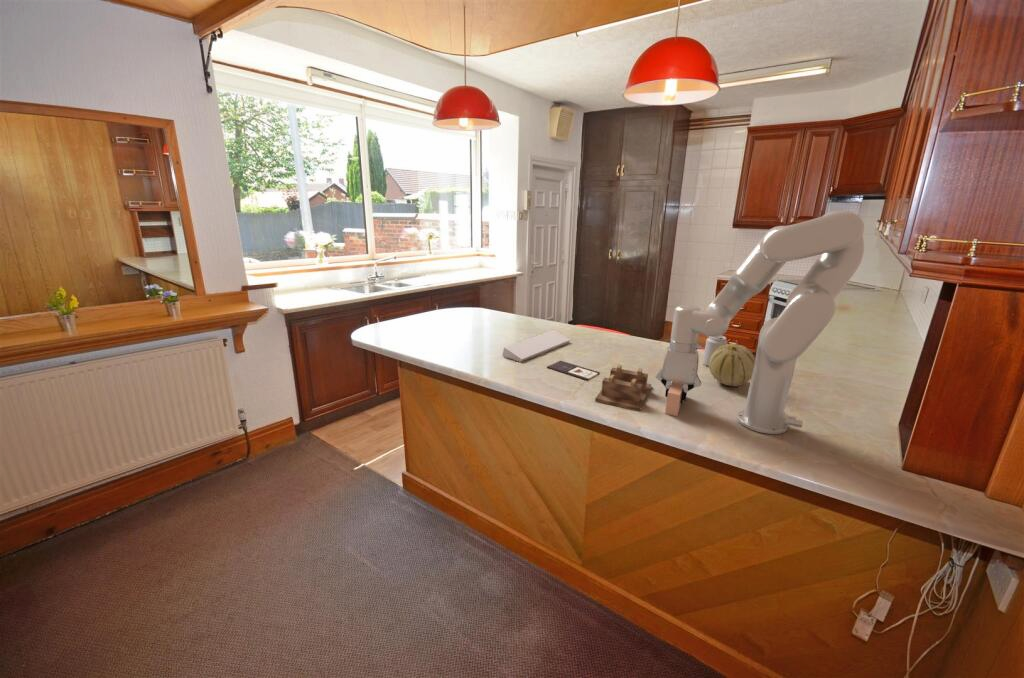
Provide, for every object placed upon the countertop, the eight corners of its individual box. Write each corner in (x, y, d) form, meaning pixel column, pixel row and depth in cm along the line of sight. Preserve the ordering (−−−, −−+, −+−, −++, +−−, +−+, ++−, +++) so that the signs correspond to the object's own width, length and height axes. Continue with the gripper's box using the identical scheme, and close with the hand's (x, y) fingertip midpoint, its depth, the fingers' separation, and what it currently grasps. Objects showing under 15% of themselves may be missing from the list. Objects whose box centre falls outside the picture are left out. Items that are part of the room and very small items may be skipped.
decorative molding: (567, 348, 192) (551, 338, 197) (570, 339, 189) (553, 329, 194) (519, 369, 167) (501, 357, 173) (521, 359, 165) (504, 347, 170)
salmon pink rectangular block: (683, 395, 138) (686, 376, 136) (677, 416, 125) (680, 394, 122) (672, 393, 140) (674, 374, 137) (665, 413, 126) (667, 392, 124)
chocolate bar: (560, 360, 167) (599, 372, 155) (560, 362, 167) (599, 374, 156) (546, 366, 160) (586, 379, 149) (546, 368, 161) (586, 381, 149)
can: (718, 370, 159) (723, 340, 156) (699, 364, 165) (703, 336, 161) (726, 365, 164) (731, 336, 160) (707, 360, 169) (712, 332, 166)
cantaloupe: (747, 378, 152) (755, 339, 147) (756, 395, 139) (765, 353, 134) (703, 373, 156) (709, 335, 151) (708, 389, 143) (715, 348, 138)
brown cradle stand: (651, 386, 144) (653, 366, 142) (639, 410, 128) (641, 388, 125) (611, 379, 151) (612, 359, 148) (595, 401, 134) (596, 379, 131)
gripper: (713, 346, 125) (704, 401, 131) (656, 338, 133) (650, 390, 138) (711, 354, 119) (702, 411, 125) (652, 345, 126) (646, 399, 132)
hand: (675, 400), depth 132 cm, fingers closed on salmon pink rectangular block, 3 cm apart
